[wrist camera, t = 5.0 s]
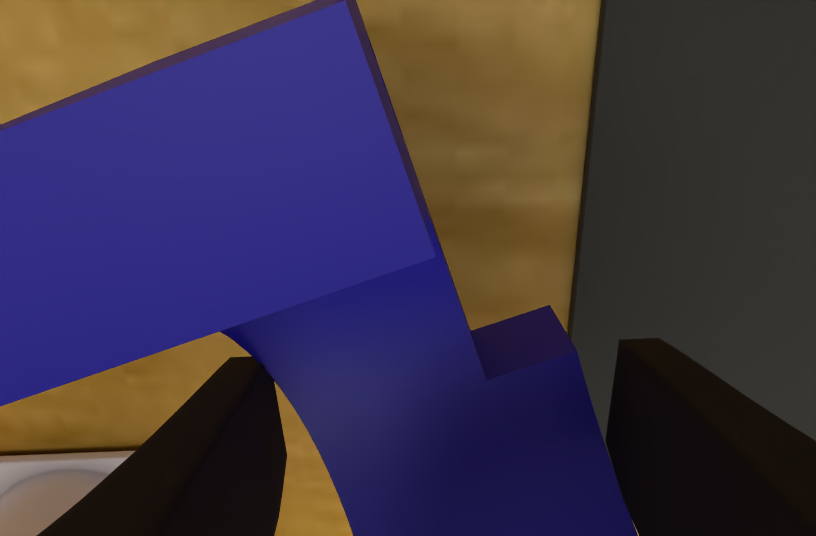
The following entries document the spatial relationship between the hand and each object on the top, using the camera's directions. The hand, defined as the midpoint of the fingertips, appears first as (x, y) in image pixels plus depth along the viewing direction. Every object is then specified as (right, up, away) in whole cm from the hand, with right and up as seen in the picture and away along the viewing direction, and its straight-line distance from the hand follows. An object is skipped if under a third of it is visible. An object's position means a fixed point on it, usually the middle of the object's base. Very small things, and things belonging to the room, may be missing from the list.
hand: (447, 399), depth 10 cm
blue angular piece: (0, +1, +2) cm, 2 cm away
